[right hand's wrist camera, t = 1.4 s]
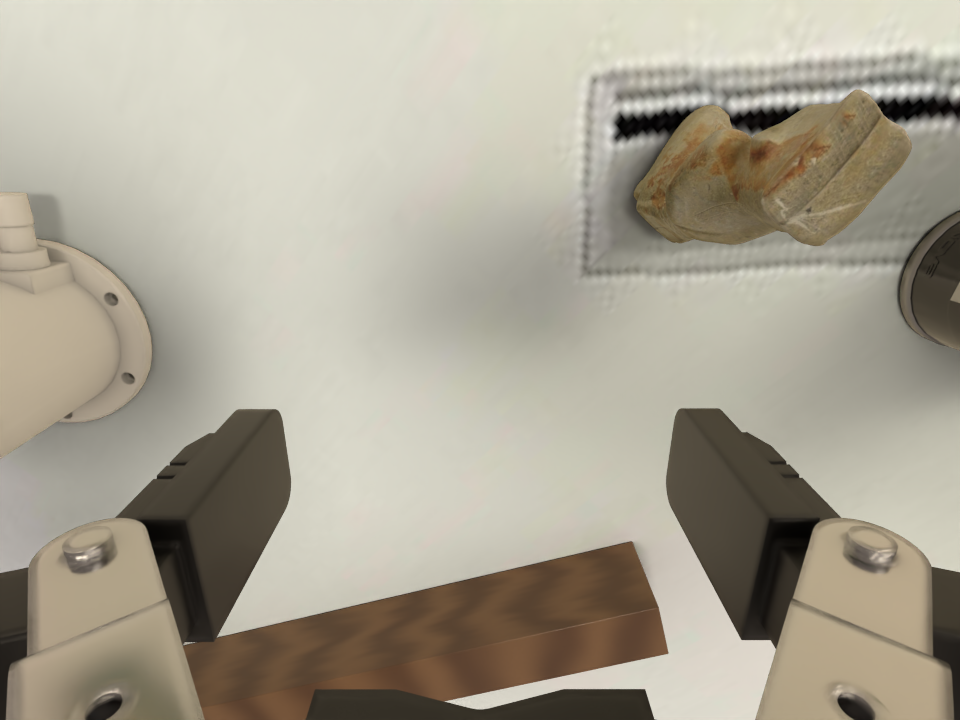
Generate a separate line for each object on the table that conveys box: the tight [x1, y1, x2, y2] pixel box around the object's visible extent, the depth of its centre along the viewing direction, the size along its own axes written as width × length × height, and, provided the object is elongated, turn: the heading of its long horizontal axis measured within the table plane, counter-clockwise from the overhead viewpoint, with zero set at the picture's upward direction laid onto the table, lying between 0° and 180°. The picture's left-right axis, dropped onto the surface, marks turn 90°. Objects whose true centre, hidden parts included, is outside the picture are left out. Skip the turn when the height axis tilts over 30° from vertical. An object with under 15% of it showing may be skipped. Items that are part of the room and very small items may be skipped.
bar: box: [183, 542, 668, 720], centre depth 44 cm, size 51×4×7 cm, turn 106°
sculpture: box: [634, 90, 912, 246], centre depth 27 cm, size 6×7×15 cm
